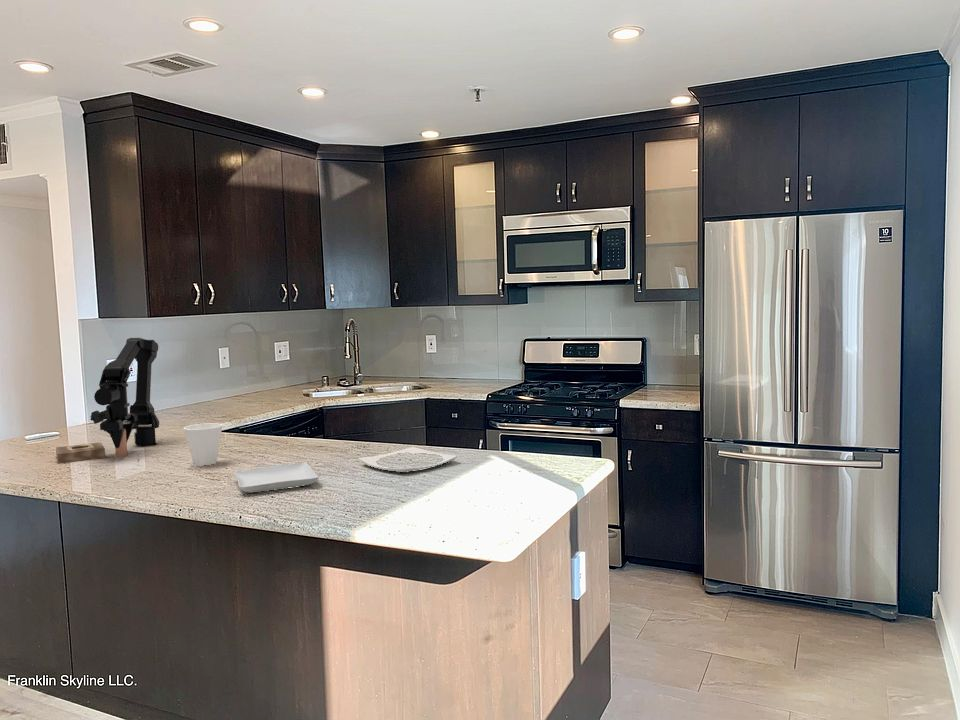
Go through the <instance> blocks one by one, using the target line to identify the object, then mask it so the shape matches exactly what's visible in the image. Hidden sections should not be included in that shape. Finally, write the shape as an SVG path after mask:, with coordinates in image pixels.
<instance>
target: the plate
mask: <svg viewBox="0 0 960 720" xmlns="http://www.w3.org/2000/svg"><path fill="white" fill-rule="evenodd" d="M405 452H410V453H427V454H437V455H440V456H442V457H443V459H444V460H443V461H442V462H440V463H437V464H433V465H428V466H423V467H418V468H388V467H382V466H379V465H377V463H376V461H378V460H379V459H380V458H383V457H386V456H390V455H393V454H397V453H405ZM457 458H458V455H454V454H445V453H440V452H435V451H429V450H426V449H422V448H419V447H414V446H410V447H408V448H407V447H406V448H403V449H401V450H397V451H394V452H388V453H383V454H378V455H374V456H365V457H358V461H360V462H361V463H362V464H364V465H366V466H368V467H370V466H371V468H373V467H374V469H377V468H378V469H377V470H380V469H382V470H381V471H383V470H388V471H387V472H389V471H396V472H395V473H400V472H406V473H408V472H407V471H413V470H419V469H423V468H428V467H432V466H436V465H440V464H443V463H446V462H448V463H450V462H449V461H451V462H453V461H455V460H456V459H457ZM452 460H453V461H452ZM446 464H447V463H446Z"/></svg>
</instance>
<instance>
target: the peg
mask: <svg viewBox="0 0 960 720" xmlns="http://www.w3.org/2000/svg"><path fill="white" fill-rule="evenodd" d="M127 443H128V441H126V429H124V432H123V436H122V440H121V443H120V446H119V448H115V447H114V448H115V457H117V458H121V457H123V458H124V457H126V456H128V444H127Z"/></svg>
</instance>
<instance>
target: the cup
mask: <svg viewBox="0 0 960 720" xmlns="http://www.w3.org/2000/svg"><path fill="white" fill-rule="evenodd" d="M222 429H223V424H222V423H215V422H209V423H208V422H207V423H205V422H204V423H196V424H190V425H186V426H184V427H183V431H184V435H185V439H186V443H187V445H188V448H189V452H190V457H191V459H192V463H193V466H194V465H196V466H195V467H204V466H203V465H210V464H214V463H216V462H218V455H219V450H220V443H221V437H222V431H223V430H222ZM216 464H217V463H216ZM214 465H215V464H214ZM210 466H211V465H210Z"/></svg>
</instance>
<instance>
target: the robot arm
mask: <svg viewBox="0 0 960 720" xmlns="http://www.w3.org/2000/svg"><path fill="white" fill-rule="evenodd" d="M158 351H159V344H158V343H157V341H155V339H145V338H142V337H129V338H127V339H126V341H125V345H124V347H123V348H122V349H121V350H120V352H119V353H118V355H117V356H116V358H115V359H114V360H112V361H110V362H109V363H107V365H106V366H104V369H103V370H102V372H101V373H102V374H101V376H100V380H99V384H98V386H99V388H98V389H97V390H96V391H95V393H94V395H93V396H94V397H93V398H94V401H95V403H96V404H98V405H100V406H105V410H102V411H99V410H94V411H92V412H91V413H90V421H93V424H94V425H95V424H96V425H97V424H99V423H100V424H99V430H100V431H103V432H106V433H108V434H109V436H110V438H111V440H112V443H113V444H114V445H113V446H114V448H119V446H120V443H121V440H122V436H123V432H124V429H126V441H127V442H128V440H129V438H130V436H131V433H132V431H133V430H135V432H134V433H133V436H134V437H133V438H134V444H135V445H136V446H137V447H145V446H146V447H147V446H152V445H157V444H158V443H157V442H156V441H157V440H156V429H159V427H160V420H159V418H158V416H157V415H156V413H155V408H154V406H153V404H152V403H151V386H152V385H151V384H152V383H151V382H152V364H153V362H154V361H155V360H156V358H157V357H158V356H157V355H158ZM134 361H136V365H137V366H136V367H137V368H136V386H135V387H136V388H135V389H136V390H135V402H134V403H133V404H132V405H130V402H128V390H127V387H129V383H128V379H129V378H130V375H131V370H130V367H131V365H132V363H133V362H134ZM128 407H129V408H128Z"/></svg>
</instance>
